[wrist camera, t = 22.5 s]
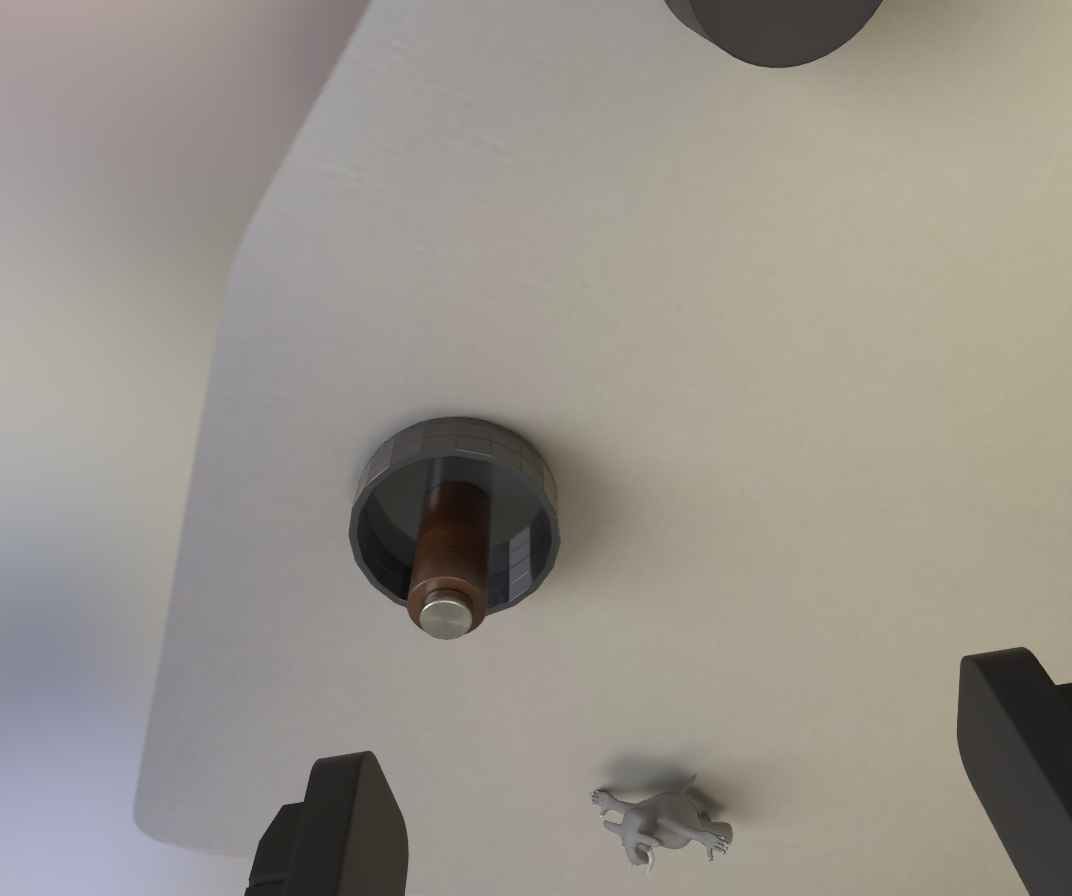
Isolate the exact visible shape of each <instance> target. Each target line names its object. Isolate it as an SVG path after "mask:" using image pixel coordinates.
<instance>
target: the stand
mask: <svg viewBox="0 0 1072 896" xmlns="http://www.w3.org/2000/svg"><path fill="white" fill-rule="evenodd" d="M664 1H665V2H666V4H667V5H668V7H669V8H670V10H671V11H672V12H673V13H674V15H675V16H676V17H677V18H678V19H679V20H680V21H681V22H682V23H683V24H685V25H686V26H687V27H689V28H690V29H692V30H693V31H695V32H696V33H698V34H699V35H701V36H702V37H704V38H706V39H707V40H709V41H710V42H712V43H713V44H715V45H716V46H718V47H719V48H721V49H722V50H724V51H725V52H727V53H729V54H730V55H732V56H733V57H735V58H737V59H739V60H742V61H744V62H746V63H749V64H753V65H756V66H761V67H769V68H786V67H792V66H799V65H802V64H806V63H809V62H812V61H815V60H817V59H819V58H822V57H824V56H826V55H828V54H829V53H831V52H833V51H835V50H836V49H838V48H839V47H841V46H842V45H843V44H845V43H846V42H847V41H849V40H850V39H851V38H852V37H853V36H854V35H855V34H856V33H857V32H858V31H860V30H861V29H862V28H863V26H864V25H865V24H866V23H867V22H868V21H869V19H870V18H871V17H872V16H873V14H874V13H875V11H876V10H877V8H878V7H879V6H880V4H881V3H882V1H883V0H664Z"/></svg>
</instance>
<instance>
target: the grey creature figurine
mask: <svg viewBox="0 0 1072 896" xmlns="http://www.w3.org/2000/svg"><path fill="white" fill-rule="evenodd" d="M695 778H696V774H695V775H693V776H692V778H691V779H690V780H689V781H688V782H687V783H686V784H685V785H684V786H683V787H682V788H681V789H680V790H679V791H678V792H674V793H662V794H658V795H656V796H654V797H652V798H649V799H647V800H645V801H642V802H639V803H636V804H633V803H627V802H623V801H619V800H617V799H615V798H614V797H613V796H612V795H611V794H609V793H606V792H600V791H596V793H592V795H593V796H592V797H591V799H594V800H597V801H594V800H592V801H591V803H592V804H597V805H600V806H601V807H602V808H601V813H600V818H602V817H603V815H605V813H606V812H607V811H608V810H610V809H613V810H616V811H618V812H620V813H622V814H624V818H623V822H622V824H621V825H620V824H616V823H612V822H609V821H604V822H603V825H604V827H605V828H607V829H608V830H610V831H612V832H614V833H616V834H618V835H619V836H620V837H621V839H622V840H623V843H622V845H623V846H624V847H625V851H626V854H627V856H628V858H629V860H630V861H631V862H630V864H629V865H628V867H627V868H629V867H631V866H632V865H634V864H635V865H640V864H648V865H647V868H646V871H645V876H647V875H648V874H649V872H650V870H651V869H652V867H653V864H654V861H655V855H654V853H653V851H652V848H651V847H650V846H652V847H659V846H662V847H665V848H669V849H680V848H683V847H685V846H686V845H687V844H688V843H689V842H690V840H691V839H694V840H697V841H699V842H701V843H702V844H704V845H705V846H706V847H707V851H708V857H709V861H710V862H711V861H713V855H712V849H714V850H717V851H719V852H721V853H722V854H725V853H726V852H725V850H727V849H728V848H727V847H729V845H730V844H731V841H732V837H733V832H732V827H731V825H730V824H729V823H725V822H712V821H711V819H710V817H709V816H707V815H697V813H696V811H695V808H694V806H693V804H692V803H691V801H690V800H689V799H688V798H687V792H688V789H689V787H690V785H691V784H692V782H693V781H694V779H695ZM597 793H598V794H597ZM594 796H598V797H599V798H598V797H594ZM717 846H718V847H717ZM719 847H721V848H723V849H724V850H723V849H721V848H719Z"/></svg>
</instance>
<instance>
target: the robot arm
mask: <svg viewBox="0 0 1072 896" xmlns="http://www.w3.org/2000/svg"><path fill="white" fill-rule="evenodd" d="M957 740H958V746H959V751H960V755H961V759H962V762H963V765H964V768H965V771H966V773H967V776H968V778H969V780H970V782H971V784H972V786H973V788H974V790H975V792H976V794H977V796H978V798H979V800H980V801H981V803H982V805H983V807H984V809H985V811H986V813H987V815H988V817H989V819H990V821H991V822H992V824H993V826H994V828H995V830H996V832H997V834H998V836H999V838H1000V840H1001V841H1002V843H1003V845H1004V847H1005V849H1006V851H1007V853H1008V855H1009V857H1010V859H1011V861H1012V862H1013V864H1014V866H1015V868H1016V870H1017V872H1018V874H1019V876H1020V878H1021V880H1022V882H1023V883H1024V885H1025V887H1026V889H1027V891H1028V893H1029V895H1030V896H1072V683H1068V684H1061V685H1055V684H1054V683H1053V681H1052V680H1051V678H1050V677H1049V675H1048V674H1047V673H1046V671H1045V670H1044V668H1043V667H1042V665H1041V664H1040V663H1039V661H1038V660H1037V658H1036V657H1035V656H1034V655H1033V653H1032V652H1031V651H1030V650H1028V649H1027V648H1024V647H1018V648H1012V649H1005V650H999V651H993V652H987V653H981V654H975V655H969V656H964V657H963V658H962V660H961V664H960V680H959V700H958V719H957ZM408 855H409V853H408V837H407V831H406V826H405V822H404V818H403V816H402V813H401V811H400V809H399V807H398V804H397V802H396V800H395V798H394V796H393V793H392V791H391V789H390V787H389V785H388V782H387V780H386V778H385V776H384V774H383V771H382V769H381V767H380V765H379V763H378V760H377V758H376V756H375V755H374V754H373V753H372V752H371V751H364V752H358V753H352V754H346V755H340V756H334V757H327V758H321V759H318V760H317V761H316V762H315V763H314V765H313V767H312V770H311V773H310V777H309V782H308V786H307V790H306V794H305V798H304V802H300V803H294V804H288V805H283V806H282V808H281V809H280V811H279V812H278V814H277V815H276V817H275V818H274V820H273V821H272V823H271V824H270V826H269V827H268V829H267V830H266V832H265V833H264V835H263V837H262V838H261V840H260V841H259V844H258V848H257V852H256V855H255V859H254V863H253V866H252V870H251V873H250V877H249V887H248V888H246V891H245V895H244V896H405V887H406V878H407V869H408Z"/></svg>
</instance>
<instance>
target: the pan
mask: <svg viewBox="0 0 1072 896" xmlns="http://www.w3.org/2000/svg"><path fill="white" fill-rule="evenodd" d="M448 482H463V483H467V484H471V485H473V486H475V487H476V488H478V489H479V490H481V491H482V492H483V493H484V494H485V495H486V497H487V498H488V500H489V502H490V505H491V531H490V555H489V579H488V604H487V613H486V616H488V615H490V614H493V613H496V612H499V611H502V610H505V609H507V608H510V607H513V606H515V605H516V604H518V603H519V602H520V601H522V600H523V599H525V598H526V597H527V596H529V595H530V594H532V593H533V592H534V591H536V590H537V589H538V588H539V586H540V585H541V584H542V582H543V581H544V580H545V578H546V577H547V576H548V574H549V573H550V571H551V570H552V569H553V567H554V564H555V560H556V557H557V553H558V549H559V546H560V527H559V513H558V504H557V494H556V487H555V484H554V481H553V477H552V475H551V473H550V471H549V469H548V467H547V465H546V463H545V462H544V460H543V459H542V458H541V456H540V455H539V454H538V453H537V452H536V451H535V450H534V448H533V447H532V446H531V445H529V444H528V443H527V442H526V441H524V440H523V439H522V438H521V437H519V436H517V435H516V434H514V433H513V432H511V431H509V430H507V429H505V428H503V427H500V426H498V425H495V424H492V423H489V422H486V421H481V420H477V419H471V418H460V417H457V418H440V419H433V420H429V421H425V422H421V423H418V424H415V425H413V426H410V427H408V428H406V429H404V430H402V431H400V432H399V433H397V434H395V435H394V436H392V437H391V438H390V439H388V440H387V441H386V442H385V443H384V444H383V445H382V446H381V447H380V448H379V449H377V451H376V452H375V453H374V455H373V456H372V457H371V459H370V460H369V462H368V464H367V466H366V468H365V470H364V473H363V475H362V477H361V479H360V482H359V485H358V489H357V492H356V496H355V500H354V503H353V507H352V512H351V519H350V527H349V540H350V543H351V547H352V551H353V555H354V559H355V562H356V563H357V565H358V566H359V568H360V569H361V571H362V572H363V573H364V575H365V576H366V578H367V579H368V581H369V582H370V583H371V585H372V586H374V587H375V588H376V589H377V590H379V591H380V592H381V593H383V594H384V595H385V596H387V597H388V598H389V599H390V600H392V601H393V602H394V603H396V604H399V605H401V606H404V607H406V608H407V599H408V593H409V587H410V580H411V574H412V568H413V561H414V555H415V549H416V542H417V536H418V530H419V523H420V517H421V511H422V505H423V501H424V499H425V497H426V496H427V494H428V493H429V492H430V491H431V490H432V489H434V488H435V487H437V486H439V485H441V484H444V483H448Z"/></svg>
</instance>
